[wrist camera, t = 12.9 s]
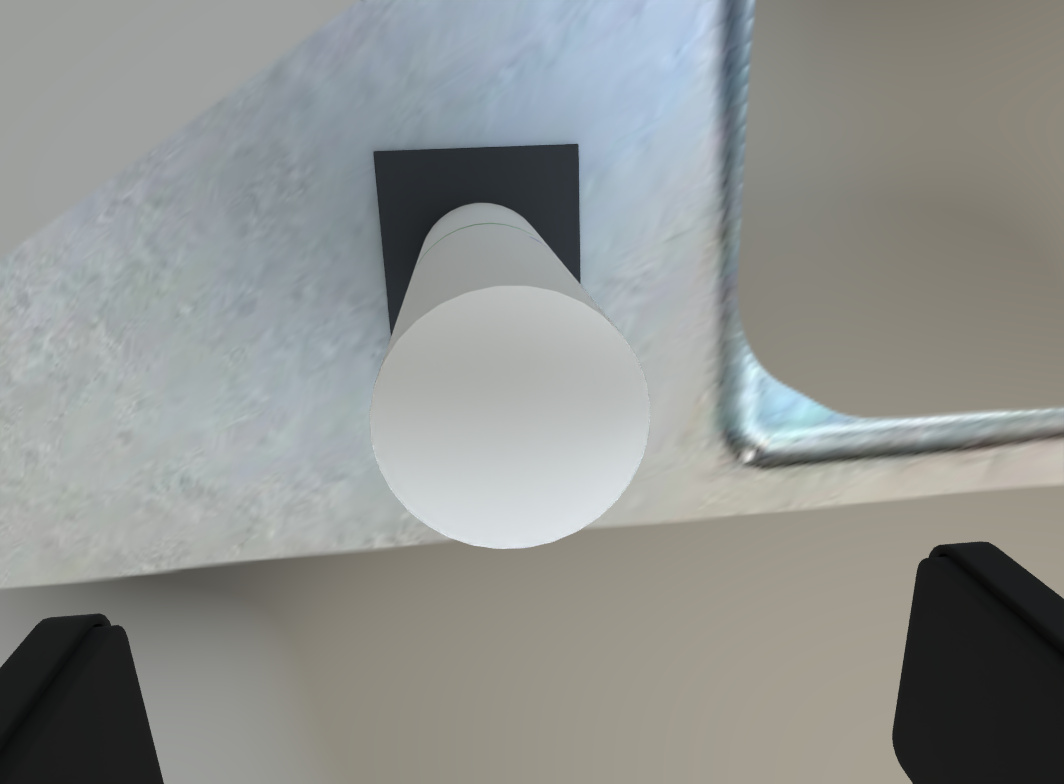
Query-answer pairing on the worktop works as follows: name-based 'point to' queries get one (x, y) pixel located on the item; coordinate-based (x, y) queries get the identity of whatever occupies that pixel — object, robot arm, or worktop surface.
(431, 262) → the cylindrical container
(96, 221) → the worktop surface
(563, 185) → the mat
